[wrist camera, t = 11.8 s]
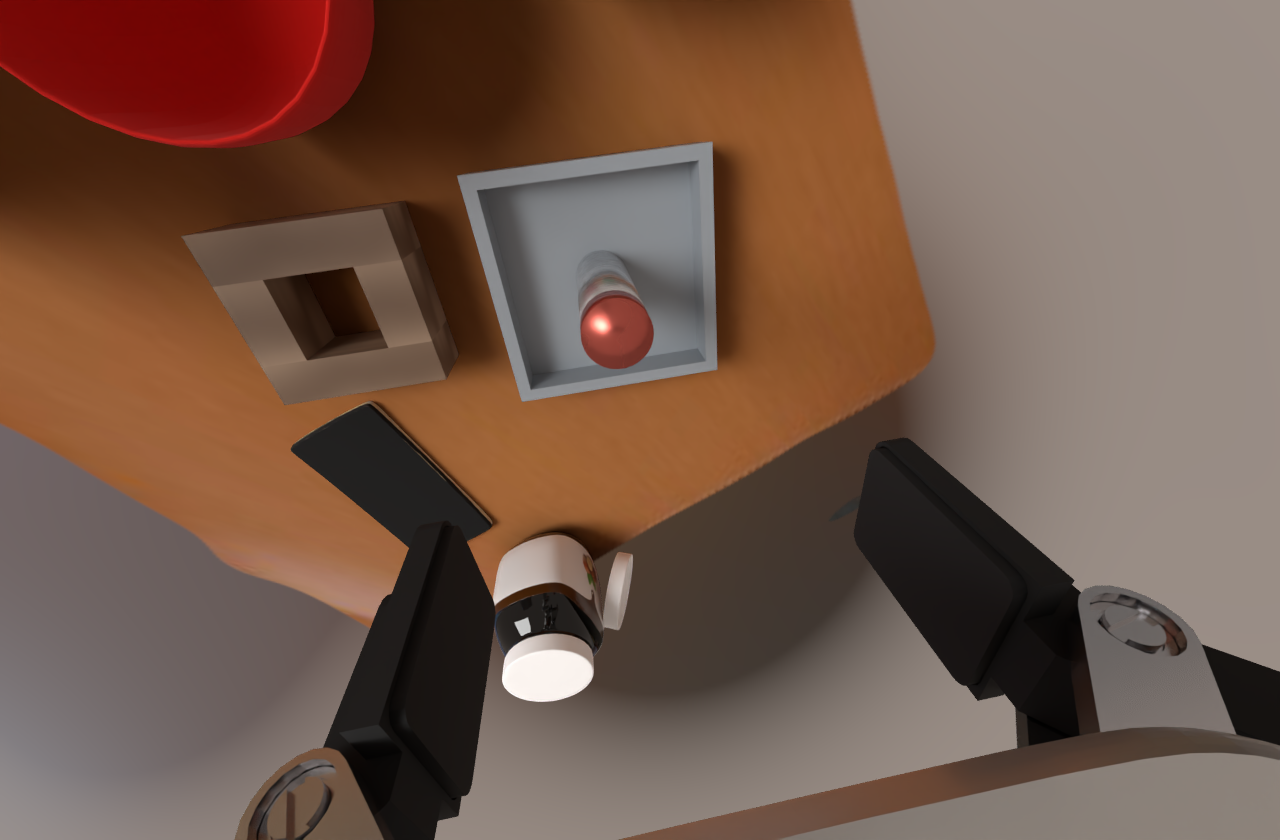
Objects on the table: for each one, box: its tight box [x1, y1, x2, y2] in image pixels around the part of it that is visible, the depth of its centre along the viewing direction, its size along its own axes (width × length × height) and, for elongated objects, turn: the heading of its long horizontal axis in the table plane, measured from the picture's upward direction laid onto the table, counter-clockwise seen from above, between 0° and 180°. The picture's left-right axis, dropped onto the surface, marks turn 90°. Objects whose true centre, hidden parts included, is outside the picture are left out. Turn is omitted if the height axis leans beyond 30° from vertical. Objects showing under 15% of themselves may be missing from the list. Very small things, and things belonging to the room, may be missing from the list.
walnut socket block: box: [181, 201, 459, 405], centre depth 28 cm, size 10×10×4 cm
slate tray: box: [457, 142, 717, 402], centre depth 30 cm, size 14×14×3 cm
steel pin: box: [576, 250, 654, 369], centre depth 26 cm, size 3×3×11 cm
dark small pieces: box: [291, 401, 492, 547], centre depth 37 cm, size 7×1×15 cm
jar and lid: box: [493, 532, 633, 702], centre depth 40 cm, size 12×11×12 cm
